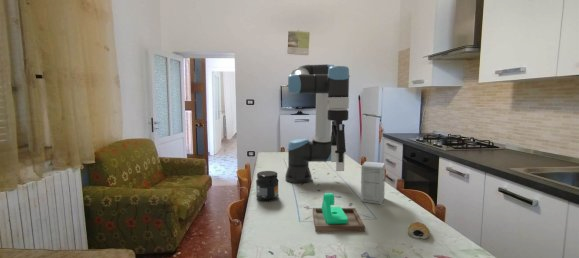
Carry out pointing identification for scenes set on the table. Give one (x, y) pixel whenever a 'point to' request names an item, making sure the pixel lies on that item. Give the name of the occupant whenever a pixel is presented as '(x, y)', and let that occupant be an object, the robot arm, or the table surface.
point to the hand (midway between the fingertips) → (337, 166)
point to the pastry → (418, 230)
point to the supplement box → (372, 182)
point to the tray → (352, 225)
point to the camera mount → (332, 211)
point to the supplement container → (267, 186)
